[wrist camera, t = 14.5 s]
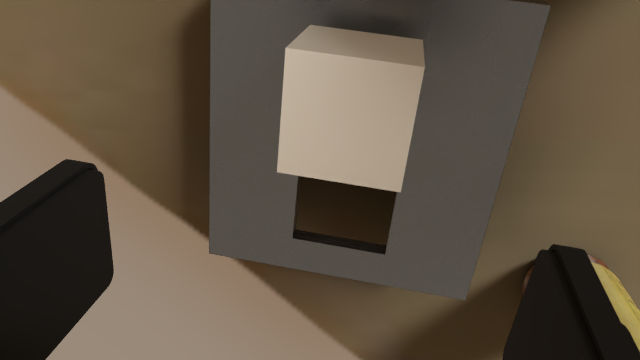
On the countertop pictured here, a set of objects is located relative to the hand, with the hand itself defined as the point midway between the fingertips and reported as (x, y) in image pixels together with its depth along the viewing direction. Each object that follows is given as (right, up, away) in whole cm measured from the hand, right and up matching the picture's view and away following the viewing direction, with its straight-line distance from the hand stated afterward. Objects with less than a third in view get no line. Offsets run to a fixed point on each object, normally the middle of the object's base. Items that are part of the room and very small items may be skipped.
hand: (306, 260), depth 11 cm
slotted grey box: (+3, +6, +22) cm, 23 cm away
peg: (+3, +10, +20) cm, 23 cm away
